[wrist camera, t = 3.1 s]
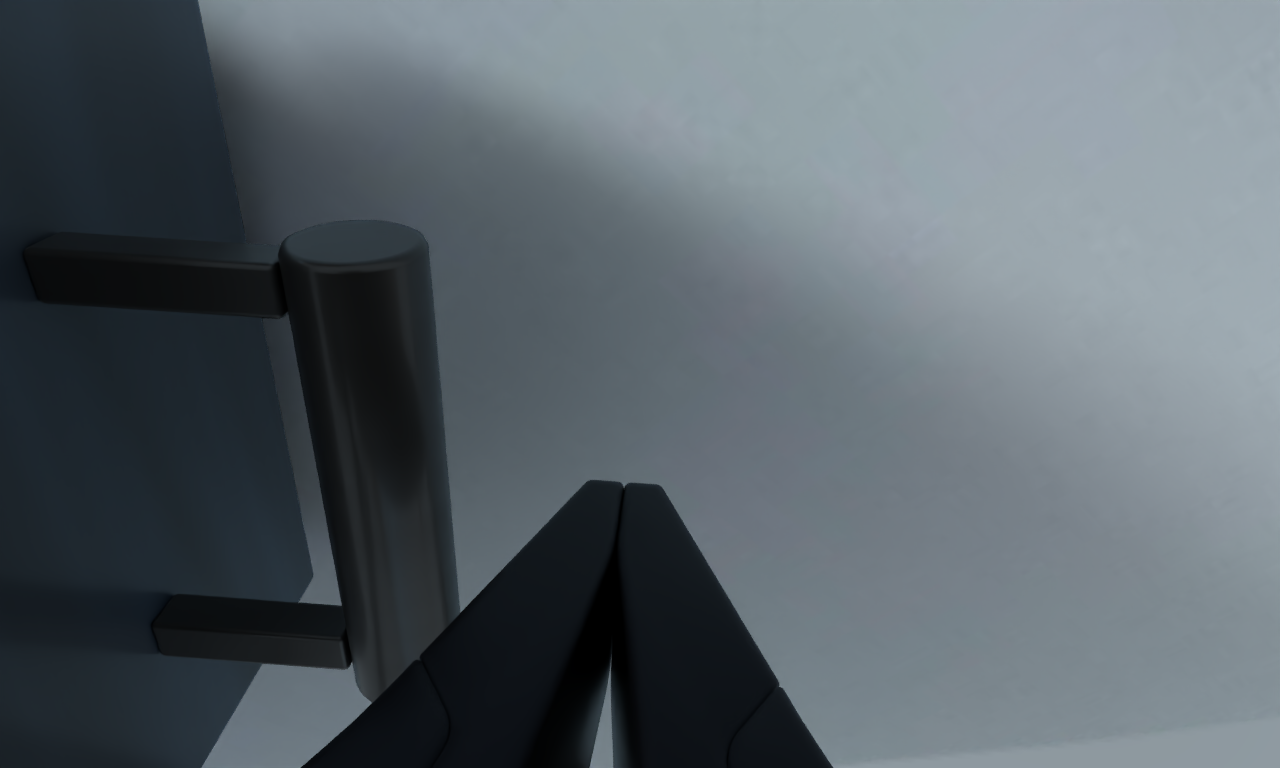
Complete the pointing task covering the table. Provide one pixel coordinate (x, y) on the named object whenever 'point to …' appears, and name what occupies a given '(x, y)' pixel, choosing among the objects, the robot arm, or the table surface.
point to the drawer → (189, 409)
